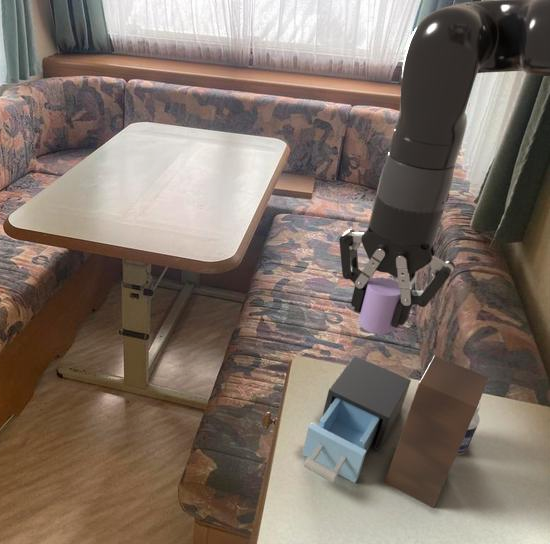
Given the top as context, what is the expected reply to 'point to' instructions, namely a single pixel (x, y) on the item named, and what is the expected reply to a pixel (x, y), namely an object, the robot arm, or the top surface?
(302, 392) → the top surface
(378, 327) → the purple cylinder
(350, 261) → the robot arm
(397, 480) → the stand
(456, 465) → the top surface
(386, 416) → the cabinet
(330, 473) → the drawer
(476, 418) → the pill bottle
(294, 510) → the top surface
